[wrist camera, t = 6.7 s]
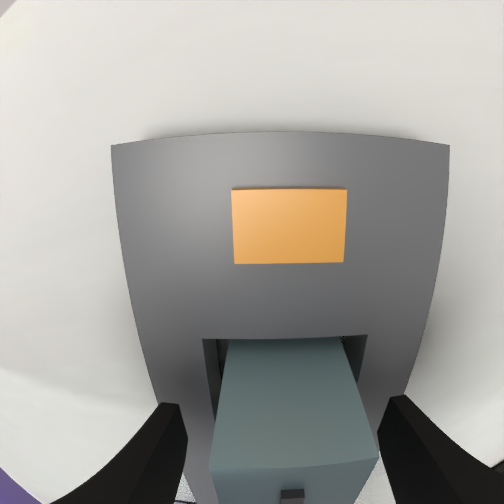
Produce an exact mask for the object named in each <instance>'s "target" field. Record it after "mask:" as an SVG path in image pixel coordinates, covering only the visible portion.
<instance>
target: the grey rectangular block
mask: <svg viewBox="0 0 504 504" xmlns="http://www.w3.org/2000/svg"><path fill="white" fill-rule="evenodd" d="M378 459H379V454H378V451H377V447H376V444H375V441H374V438H373V434H372V431H371V428H370V425H369V422H368V419H367V415H366V412H365V409H364V406H363V403H362V400H361V397H360V394H359V391H358V388H357V385H356V382H355V379H354V377H353V374H352V371H351V368H350V365H349V362H348V359H347V357H346V354H345V351H344V348H343V345H342V343H341V340H340V337H339V336H336V337H318V338H291V339H229V343H228V349H227V355H226V361H225V367H224V373H223V379H222V385H221V392H220V398H219V404H218V410H217V416H216V422H215V428H214V435H213V441H212V447H211V453H210V460H209V470H210V473H211V477H212V480H213V483H214V487H215V490H216V493H217V497H218V500H219V503H220V504H353V503H354V502H355V500H356V498H357V497H358V495H359V493H360V492H361V490H362V488H363V487H364V485H365V483H366V481H367V479H368V478H369V476H370V474H371V472H372V470H373V468H374V466H375V464H376V462H377V461H378Z"/></svg>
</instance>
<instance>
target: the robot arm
mask: <svg viewBox="0 0 504 504" xmlns="http://www.w3.org/2000/svg"><path fill="white" fill-rule="evenodd" d="M377 437H378V443H379V448H380V453H381V457H382V460H383V464H384V467H385V470H386V473H387V476H388V479H389V482H390V485H391V489H392V492H393V495H394V498H395V501H396V504H504V475H503V474H501V473H499V472H497V471H495V470H493V469H492V468H490V467H488V466H487V465H485V464H483V463H482V462H480V461H479V460H477V459H476V458H474V457H473V456H471V455H470V454H469V453H467V452H466V451H465V450H464V449H462V448H461V447H460V446H459V445H457V444H456V443H455V442H454V441H453V440H452V439H450V438H449V437H448V436H447V435H446V434H445V433H444V432H443V431H442V430H441V429H439V428H438V427H437V426H436V425H435V424H434V423H433V422H432V421H431V420H430V419H429V418H428V417H427V416H426V415H425V414H424V413H423V412H422V411H421V410H420V409H419V408H418V407H417V406H416V405H415V404H414V403H413V402H412V401H411V400H410V399H409V398H408V397H407V396H406V395H399V396H393V397H390V398H389V401H388V404H387V407H386V409H385V412H384V415H383V417H382V420H381V423H380V425H379V428H378V430H377ZM187 445H188V435H187V432H186V428H185V425H184V421H183V418H182V414H181V410H180V407H179V404H176V403H166V402H161V403H160V404H159V405H158V407H157V408H156V409H155V410H154V412H153V413H152V414H151V416H150V417H149V418H148V419H147V421H146V422H145V423H144V424H143V426H142V427H141V428H140V429H139V431H138V432H137V433H136V434H135V435H134V436H133V437H132V439H131V440H130V441H129V442H128V443H127V444H126V445H125V446H124V447H123V449H122V450H121V451H120V452H119V453H118V454H117V455H116V456H115V457H114V458H113V459H112V460H111V461H110V462H109V463H107V464H106V465H105V466H104V467H103V468H102V469H101V470H100V471H98V472H97V473H96V474H95V475H94V476H92V477H91V478H90V479H89V480H87V481H86V482H85V483H83V484H82V485H80V486H79V487H77V488H76V489H75V490H73V491H72V492H70V493H68V494H67V495H65V496H63V497H61V498H60V499H58V500H56V501H54V502H52V503H50V504H185V503H178V502H174V501H175V497H176V494H177V490H178V487H179V483H180V479H181V476H182V472H183V468H184V465H185V460H186V453H187Z"/></svg>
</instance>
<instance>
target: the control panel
mask: <svg viewBox="0 0 504 504" xmlns="http://www.w3.org/2000/svg"><path fill="white" fill-rule="evenodd" d="M449 156H450V145H446V144H440V143H433V142H426V141H419V140H411V139H403V138H394V137H384V136H373V135H360V134H345V133H324V132H241V133H220V134H204V135H191V136H180V137H170V138H161V139H152V140H144V141H136V142H129V143H123V144H116V145H111V158H112V172H113V184H114V195H115V204H116V213H117V221H118V229H119V236H120V243H121V249H122V256H123V262H124V267H125V273H126V279H127V284H128V289H129V294H130V299H131V304H132V309H133V313H134V318H135V322H136V326H137V330H138V335H139V339H140V343H141V347H142V350H143V354H144V358H145V362H146V365H147V369H148V372H149V376H150V379H151V383H152V386H153V389H154V393H155V396H156V399H157V402H158V405H159V404H160V403H161V402H166V403H176V404H179V407H180V410H181V414H182V418H183V421H184V425H185V428H186V432H187V435H188V445H187V453H186V460H185V465H184V468H183V473H184V475H185V478H186V480H187V482H188V485H189V487H190V489H191V492H192V494H193V496H194V498H195V500H196V503H197V504H220V503H219V500H218V497H217V493H216V490H215V487H214V483H213V480H212V477H211V473H210V470H209V460H210V453H211V447H212V441H213V435H214V428H215V422H216V416H217V410H218V404H219V398H220V392H221V377H220V368H219V359H218V350H217V341H216V339H291V338H318V337H336V336H345V342H344V351H345V354H346V357H347V359H348V362H349V365H350V368H351V371H352V374H353V377H354V379H355V382H356V385H357V388H358V391H359V394H360V397H361V400H362V403H363V406H364V409H365V412H366V415H367V419H368V422H369V425H370V428H371V431H372V434H373V438H374V441H375V444H376V447H377V451H378V453H379V450H380V448H379V443H378V437H377V430H378V428H379V425H380V423H381V420H382V417H383V415H384V412H385V409H386V407H387V404H388V401H389V398H390V397H393V396H399V395H403V394H404V391H405V389H406V386H407V383H408V380H409V377H410V375H411V372H412V369H413V366H414V363H415V359H416V356H417V353H418V350H419V346H420V343H421V339H422V336H423V332H424V329H425V325H426V321H427V317H428V313H429V309H430V305H431V300H432V296H433V291H434V287H435V282H436V277H437V271H438V266H439V260H440V254H441V248H442V241H443V234H444V226H445V217H446V207H447V196H448V181H449Z"/></svg>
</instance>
